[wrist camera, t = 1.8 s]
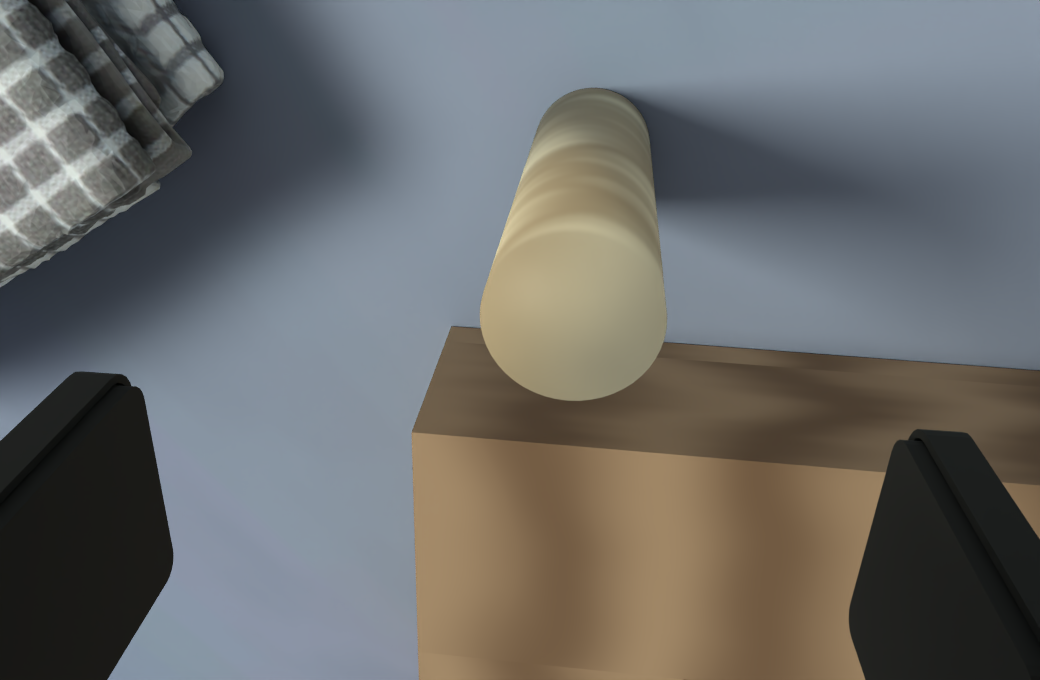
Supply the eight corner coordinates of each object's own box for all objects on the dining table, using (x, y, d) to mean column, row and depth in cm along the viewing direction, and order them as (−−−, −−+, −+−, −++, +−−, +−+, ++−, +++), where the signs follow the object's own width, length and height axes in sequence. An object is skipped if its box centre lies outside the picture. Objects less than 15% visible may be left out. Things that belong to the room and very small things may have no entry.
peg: (655, 91, 24) (677, 239, 14) (643, 204, 26) (656, 407, 16) (537, 84, 24) (481, 226, 15) (532, 197, 26) (479, 393, 16)
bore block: (1115, 376, 27) (1237, 502, 21) (944, 805, 36) (999, 966, 31) (451, 326, 28) (411, 432, 23) (453, 750, 37) (425, 895, 32)
